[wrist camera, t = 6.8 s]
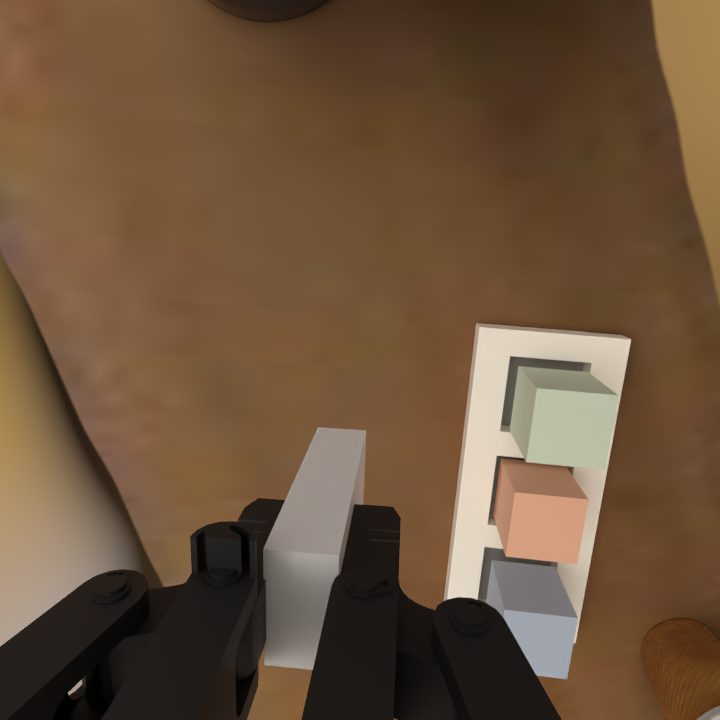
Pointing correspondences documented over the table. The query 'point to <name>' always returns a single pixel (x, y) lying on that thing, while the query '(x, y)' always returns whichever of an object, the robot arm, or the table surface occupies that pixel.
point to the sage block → (562, 417)
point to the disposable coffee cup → (684, 669)
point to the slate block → (535, 613)
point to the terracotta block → (539, 511)
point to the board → (494, 441)
